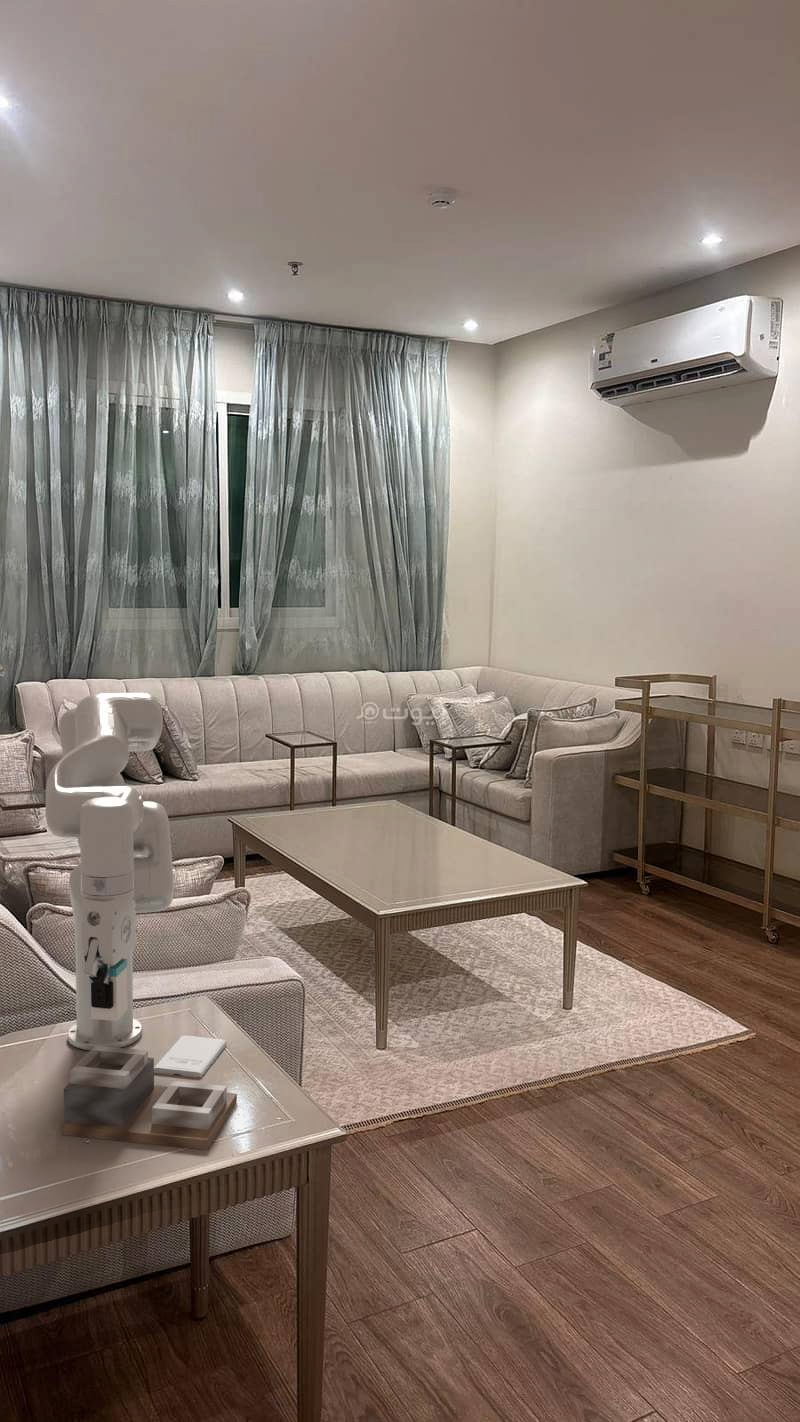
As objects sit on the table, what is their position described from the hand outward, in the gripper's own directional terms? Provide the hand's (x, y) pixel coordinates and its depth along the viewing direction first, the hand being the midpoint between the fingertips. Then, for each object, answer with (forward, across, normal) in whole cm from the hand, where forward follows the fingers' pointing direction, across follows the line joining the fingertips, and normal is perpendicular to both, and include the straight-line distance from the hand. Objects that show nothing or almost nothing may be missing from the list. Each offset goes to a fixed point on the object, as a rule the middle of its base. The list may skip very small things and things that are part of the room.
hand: (109, 999), depth 161 cm
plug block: (+2, 0, 0) cm, 2 cm away
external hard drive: (+19, +19, -6) cm, 28 cm away
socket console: (+18, -1, -7) cm, 19 cm away
